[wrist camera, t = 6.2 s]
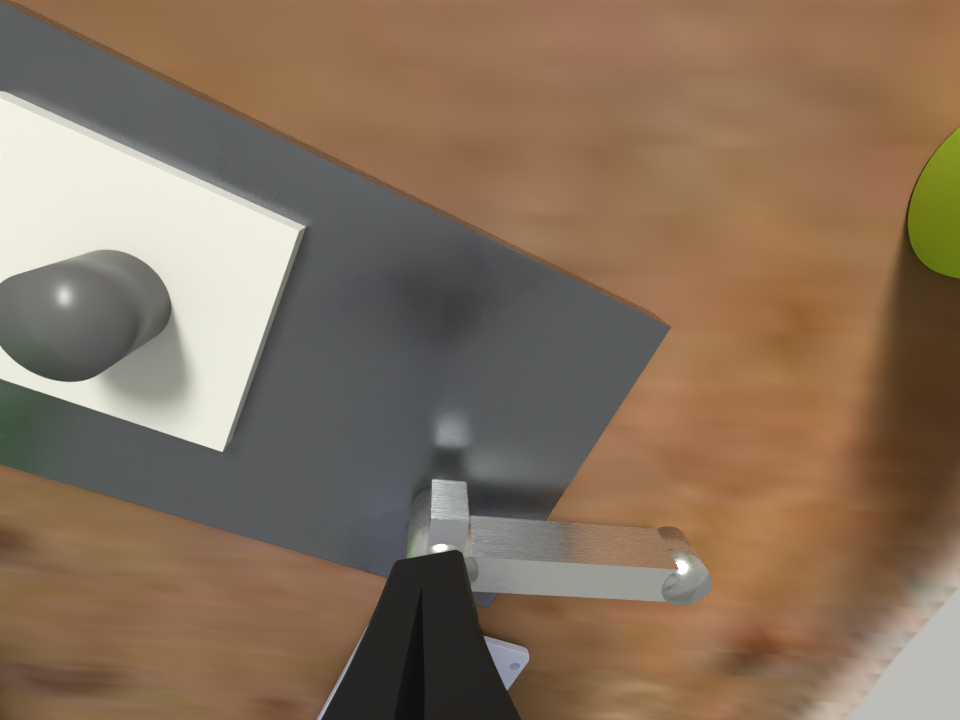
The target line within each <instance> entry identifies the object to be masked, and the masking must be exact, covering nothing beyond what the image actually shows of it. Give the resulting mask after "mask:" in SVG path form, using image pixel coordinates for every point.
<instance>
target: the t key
mask: <svg viewBox="0 0 960 720" xmlns="http://www.w3.org/2000/svg"><path fill="white" fill-rule="evenodd" d="M451 550H458V551H460V552H462V553H463V556H464V560H465V564H466V569H467V573H468V577H469V581H470V585H471V589H472V591H474V592H493V593H512V594H531V595H550V596H569V597H588V598H607V599H626V600H645V601H664V602H668V603H670V604H673V605H689V604H692V603H695V602H697V601H699V600H700V599H702V598H703V597H704V596H705V595H706V594H707V593H708V592H709V590H710V588H711V585H712V578H711V576H710V574H709V572H708V571H707V569H706V568H705V566H704V565H703V563H702V561H701V560H700V558H699V557H698V555H697V553H696V552H695V550H694V549H693V547H692V545H691V544H690V542H689V541H688V539H687V537H686V536H685V534H684V533H683V532H682V531H681V530H680V529H678V528H675V527H661V528H658V529H652V528H638V527H624V526H610V525H597V524H583V523H569V522H555V521H541V520H527V519H513V518H499V517H485V516H473V506H472V503H471V501H470V499H469V498H468V496H467V484H466V482H463V481H450V480H438V479H432V484H431V488H429V489H426V490H424V491H423V492H421V493H420V494H419V495H418V496H417V497H416V498H415V499H414V501H413V502H412V505H411V509H410V519H409V531H408V543H407V555H406V559H407V558H412V557H418V556H423V555H429V554H434V553H440V552H445V551H451Z"/></svg>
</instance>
